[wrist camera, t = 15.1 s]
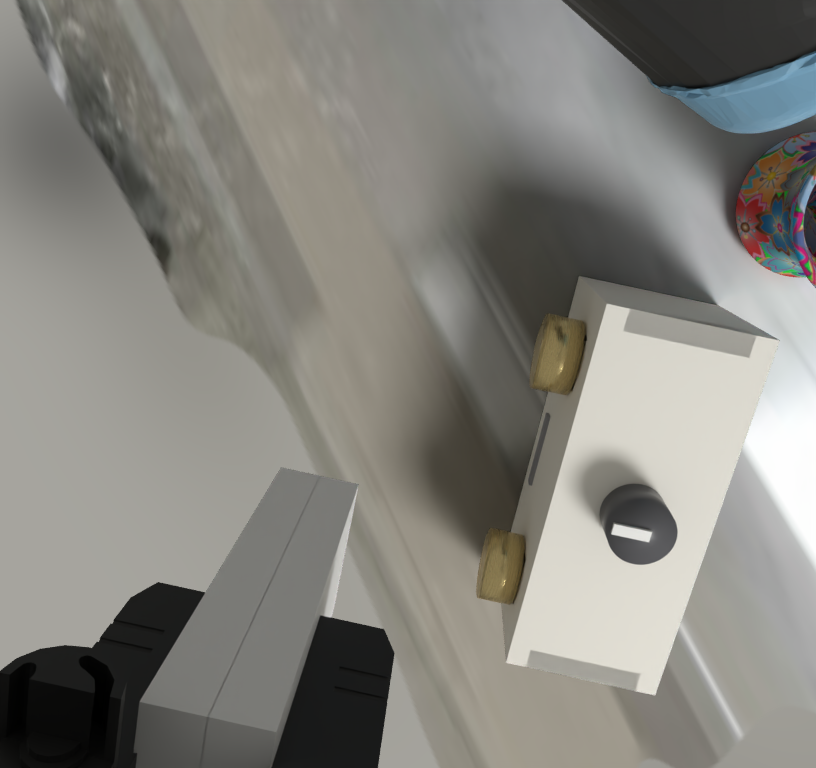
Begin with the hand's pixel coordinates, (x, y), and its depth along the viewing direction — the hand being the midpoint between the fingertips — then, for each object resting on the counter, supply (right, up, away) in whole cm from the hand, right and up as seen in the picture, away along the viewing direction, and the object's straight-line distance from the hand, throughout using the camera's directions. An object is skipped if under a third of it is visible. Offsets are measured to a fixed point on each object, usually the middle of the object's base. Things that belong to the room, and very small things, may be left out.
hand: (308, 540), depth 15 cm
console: (+15, -1, +37) cm, 40 cm away
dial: (+14, -4, +28) cm, 31 cm away
